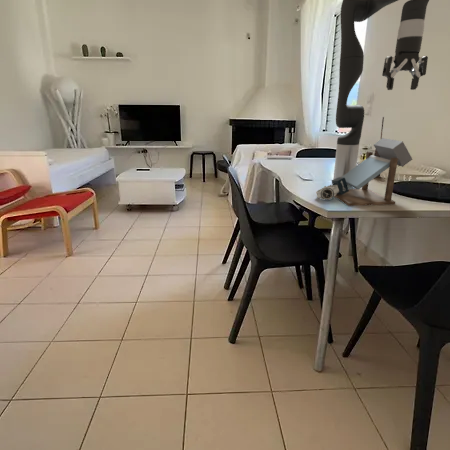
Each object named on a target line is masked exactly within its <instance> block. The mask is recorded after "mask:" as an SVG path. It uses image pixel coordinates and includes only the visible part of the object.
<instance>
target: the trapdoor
mask: <svg viewBox="0 0 450 450" xmlns="http://www.w3.org/2000/svg"><path fill="white" fill-rule="evenodd" d="M380 139H381V138H380ZM380 139H379V140H377V141H376V142H375V143H373V147H374V148H375V149H376V150H377V152H378V153H379V155H380V157H377V156H374V154H373V155H370V156H369V157H368V158H367V159H366V158H365V159H364V160H363V161H362V162H359V164H357V166H356V167H355V168H353V169H352V170H351V171H349V172H348V173H347V174H345V175H344V176H343V178H345V180H346V183H347V184H348V185H347V186H350V187H352V188H353V189H358V190H359V189H362V187H363V186H364V185H365V184H367V183H368V182H371V181H372V180H373V179H375V178H377V177H376V176H378V175H379V174H380V175H381V174H382V173H383V172H384V171H386V170H387V169H389V166H390V160H391V158H398V162H397V166H398V167H404V166H405V165H407V164H408V163H410V162H411V161H412V160H413V157H412V155H411V154H410V152H409V150H408V148H407V146H406V145H405V142H404V141H402V140H396V139H390V138H384V137H382V139H381V140H380ZM378 177H379V176H378ZM368 184H369V183H368Z"/></svg>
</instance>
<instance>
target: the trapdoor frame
mask: <svg viewBox="0 0 450 450" xmlns="http://www.w3.org/2000/svg"><path fill="white" fill-rule="evenodd" d="M370 155H373V156H374V152H373V151H367V152H366V155H365V159H367V158H368V157H369V156H370ZM397 162H398V158H391V160H390V166H389V168H388V175H387V180H386V187H385V193H384V195H382V194H380V193H378V192H375V191H373V190H372V189H369V182H368V183H367V184H365V185H364V186H363V187H361V188H360V189H359V190H358V189H356V188H348V190H349V192H346V193H344V194H342V195H341V194H336V195H335V196H334V197H333V198H335V199H337V200H339V201H340V202H342V203H343V204H345V205H346V206H348V207H357V206H358V207H360V206H381V205H382V206H384V205H385V206H386V205H396V201H395V200H393V199H392V196H393V191H394V184H395V179H396V172H397V167H398V165H397Z"/></svg>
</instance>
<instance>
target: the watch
mask: <svg viewBox="0 0 450 450" xmlns="http://www.w3.org/2000/svg"><path fill="white" fill-rule="evenodd" d="M331 184H332V185H331ZM331 184H330V185H324V186H323V187H321V188H320V189H318V190H316V191H315V193H316V196H317V198H318V199H320V200H324V201H330V200H332V199H333V198H335V197H334V196H335V195H336V194H341V195H342V194H344V193H346V192H349V190H348V189H349V187H348V185H347V183H346V180H345V178H343V177H338V178H336V179H334V180H333V179H331Z"/></svg>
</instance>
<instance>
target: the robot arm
mask: <svg viewBox="0 0 450 450" xmlns="http://www.w3.org/2000/svg"><path fill="white" fill-rule="evenodd" d="M398 1H399V0H342V2H341V7H340V56H339V69H338V70H339V71H338V72H339V73H338V79H339V80H338V94H337V95H338V97H337V103H336V111H335V125H336V127H337V128H339V129H340V128H341V129H350V130H349V132H348V133H345V134H343V135H340V136H339V137H338V138H337V141H336V151H335V160H334V171H333V179H332V180H334V179H336V178H338V177H343V176H344V175H345V174H347V173H348V172H349V171H351V170H352V169H353V168H355V167H356V166H357V165H358V157H359V150H360V149H359V148H360V141H361V137H362V131H363V125H364V121H365V119H364V118H365V108H364V105H362V104H352V105H351V104H348V98H349V95H350V93H351V91H352V90H353V88H354V86H355V85H356V83H357V82H358V80H359V79H360V78H361V76H362V74H363V71H364V59H365V54H364V49H363V47H362V44H361V42H360V41H359V38H358V35H357V33H356V29H355V23H362V22H364V21H366V20H368V19H370V18H371V17H372V16H373V15H375V14H376V13H378V12H379V11H380V10H381V9H383V8H385V7H386V6H389V5H391V4H394V3H396V2H398ZM429 1H430V0H407V1H406V2H405V3H403V6H402V9H401V16H400V23H399V27H398V31H397V36H396V37H397V38H396V44H395V52H394V53H395V54H394V56H392V55H390V56H387V57H385V59H384V63H383V68H382V72H381V73H382V74H381V75H382V76H383V77H384V78H385V77H386V78H387V79H386V89H387V91H392V90H393V88H394V82H395V76H396V75H397V73H399V72H402V71H404V72H409V73H410V74H411V76H412V78H411V84H410V87H409V88H410V90H411V91H412V90H413V91H414V90H415V91H416V89H417V88H418V87H419V82H420V81H419V80H420V77H423V76H425V75H426V74H427V68H428V66H427V65H428V59H429V58H428V56H427V55H426V56H425V55H424V56H420V52H421V49H422V41H423V35H424V31H425V30H424V29H425V20H426V15H427V14H426V13H427V7H428V4H429ZM393 63H394V65H393V67H392V64H393ZM417 63H418V65H417ZM347 186H349V185H348V184H347Z"/></svg>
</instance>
